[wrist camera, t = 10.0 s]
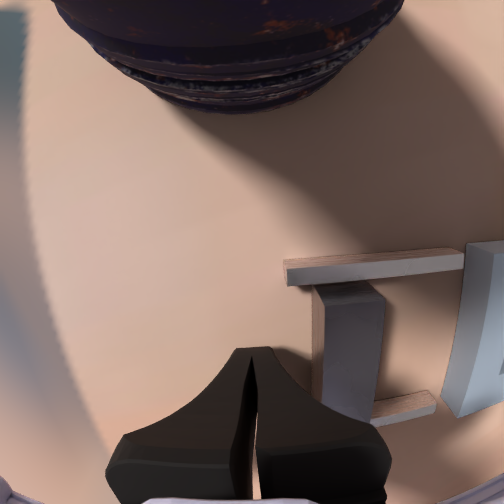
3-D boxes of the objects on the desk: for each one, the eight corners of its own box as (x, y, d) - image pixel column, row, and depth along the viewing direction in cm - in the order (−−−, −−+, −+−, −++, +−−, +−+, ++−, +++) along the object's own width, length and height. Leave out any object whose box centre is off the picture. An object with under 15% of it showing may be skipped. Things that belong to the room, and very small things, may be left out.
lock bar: (353, 401, 13) (367, 435, 11) (310, 407, 13) (318, 443, 11) (362, 277, 12) (385, 299, 10) (311, 281, 12) (324, 306, 10)
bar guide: (424, 399, 13) (434, 413, 12) (288, 422, 13) (291, 439, 12) (448, 247, 12) (464, 253, 10) (283, 260, 12) (286, 268, 11)
